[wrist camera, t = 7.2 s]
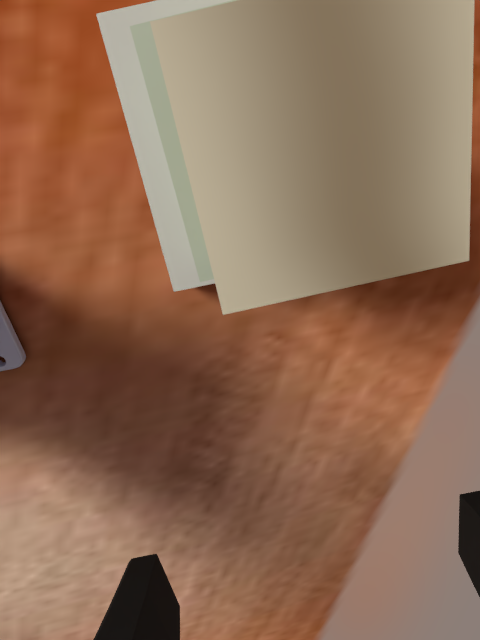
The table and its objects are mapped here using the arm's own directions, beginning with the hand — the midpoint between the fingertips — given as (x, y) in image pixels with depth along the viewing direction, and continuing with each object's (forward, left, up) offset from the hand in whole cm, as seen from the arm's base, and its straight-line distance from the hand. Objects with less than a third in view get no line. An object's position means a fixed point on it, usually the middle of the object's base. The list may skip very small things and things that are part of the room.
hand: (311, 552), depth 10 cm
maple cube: (+2, +9, -6) cm, 11 cm away
